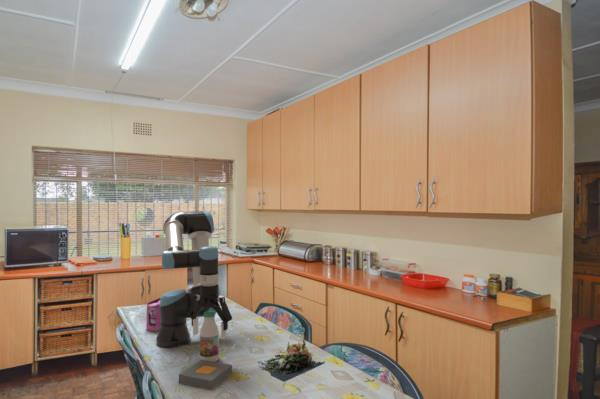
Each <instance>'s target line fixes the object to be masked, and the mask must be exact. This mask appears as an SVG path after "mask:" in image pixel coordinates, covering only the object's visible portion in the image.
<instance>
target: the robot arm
mask: <svg viewBox="0 0 600 399" xmlns="http://www.w3.org/2000/svg"><path fill="white" fill-rule="evenodd" d="M214 224H215V223H214V218H213V215H212V213H211V212H210V211H204V210H201V211H178V212H175V213H173V214H172V215H170V216H169V217H167V218H166V219H165V221H164V223H163V225H162V226H163V227H162V231H163V234H164V236H165V250H164V251H162V252H161V268H162V269H163V270H164V269H165V270H166V269H167V270H169V269H171V270H173V269H184V268H185V269H186V268H192V279H193V280H192V281H193V285H192V286H191V288H190V289H189V290H190V292H187V291H186V289H183V288H182V289H173V290H170V291H167V292H164V293H163V294H162V295H161V296H160V297H159V298H160V329H159V331H158V332H157V336H156V339H155V344H156V345H157V346H158V347H160V348H176V347H181V346H184V345H186V344H188V343H190V342H191V333H190V332H189V328H188V324H187V319H190V320H191V327H192V335H193V336H196V335H198V334H199V318H202V317H203V318H204V312H205V311H214V312H215V315H216V314H217V315H218V316H219V319H220V320H221V321H222V322H221V323H220V338H221V339H222V340H223V339H226V338H227V330H228V329H229V322H230V321H232V320H233V317H232V314H231V312H230V309H229V306H228V305H227V302H226V297H225V296H222V297H220V296H219V294H220V292H219V291H220V290H219V248H218V247H217V246H214V245H213V246H212V245H210V243H209V242H210V240H209V239H210V238H211V237H212V234H213V233H214V231H215V225H214ZM183 235H187V237H188V239H189V240H190V241H191V249H185V247H184V239H183Z"/></svg>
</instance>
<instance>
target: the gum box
mask: <svg viewBox="0 0 600 399" xmlns="http://www.w3.org/2000/svg"><path fill="white" fill-rule="evenodd" d="M160 298H161V297H159V298H157V299H154V300H151V301H149V302H147V303H146V323H145V324H146V330H148V331H156V332H157V331H158V332H159V329H160Z"/></svg>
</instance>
